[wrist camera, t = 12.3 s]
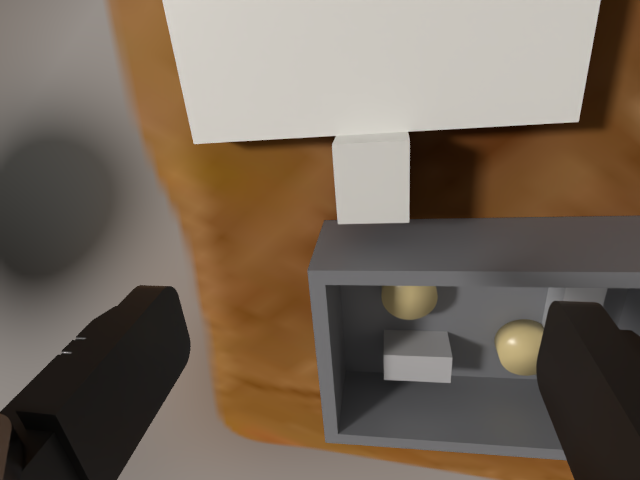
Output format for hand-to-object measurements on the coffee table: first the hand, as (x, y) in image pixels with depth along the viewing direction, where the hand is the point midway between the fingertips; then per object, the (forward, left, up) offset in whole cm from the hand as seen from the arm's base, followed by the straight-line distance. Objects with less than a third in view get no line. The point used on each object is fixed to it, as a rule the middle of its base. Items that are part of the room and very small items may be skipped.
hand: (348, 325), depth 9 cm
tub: (+10, +6, -16) cm, 19 cm away
